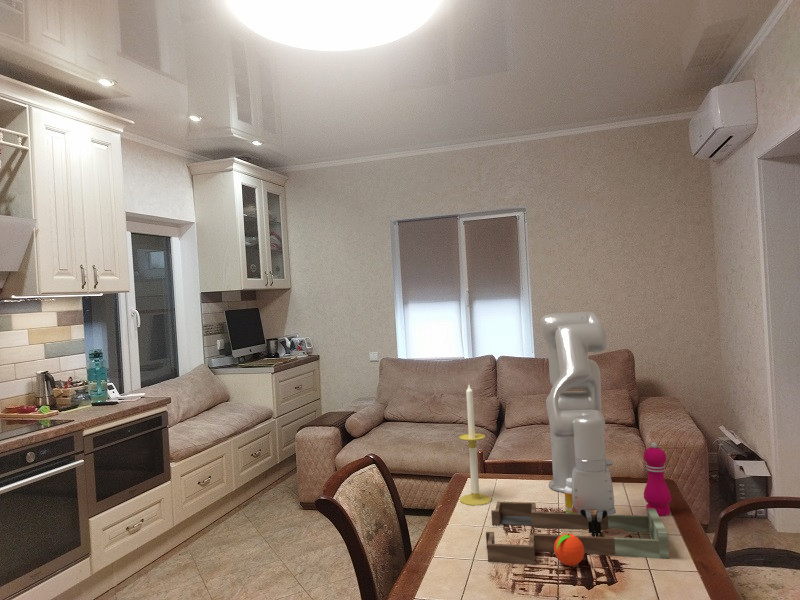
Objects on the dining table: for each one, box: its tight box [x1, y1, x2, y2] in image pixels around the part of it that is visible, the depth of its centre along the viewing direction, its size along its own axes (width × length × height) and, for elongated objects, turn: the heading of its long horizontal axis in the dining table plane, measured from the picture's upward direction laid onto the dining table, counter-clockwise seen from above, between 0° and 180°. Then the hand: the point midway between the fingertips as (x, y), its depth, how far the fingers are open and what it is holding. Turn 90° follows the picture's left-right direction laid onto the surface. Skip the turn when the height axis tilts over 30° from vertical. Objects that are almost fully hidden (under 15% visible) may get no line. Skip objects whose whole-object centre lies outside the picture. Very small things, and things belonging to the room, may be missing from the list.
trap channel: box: [485, 501, 670, 565], centre depth 146 cm, size 30×43×6 cm
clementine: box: [553, 533, 585, 567], centre depth 133 cm, size 8×7×7 cm
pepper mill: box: [643, 441, 672, 517], centre depth 161 cm, size 7×7×20 cm
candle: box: [458, 384, 492, 507], centre depth 179 cm, size 10×10×38 cm
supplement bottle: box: [563, 478, 574, 513], centre depth 164 cm, size 5×5×10 cm
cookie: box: [599, 528, 635, 538], centre depth 143 cm, size 10×11×3 cm
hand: (595, 535), depth 144 cm, fingers closed
